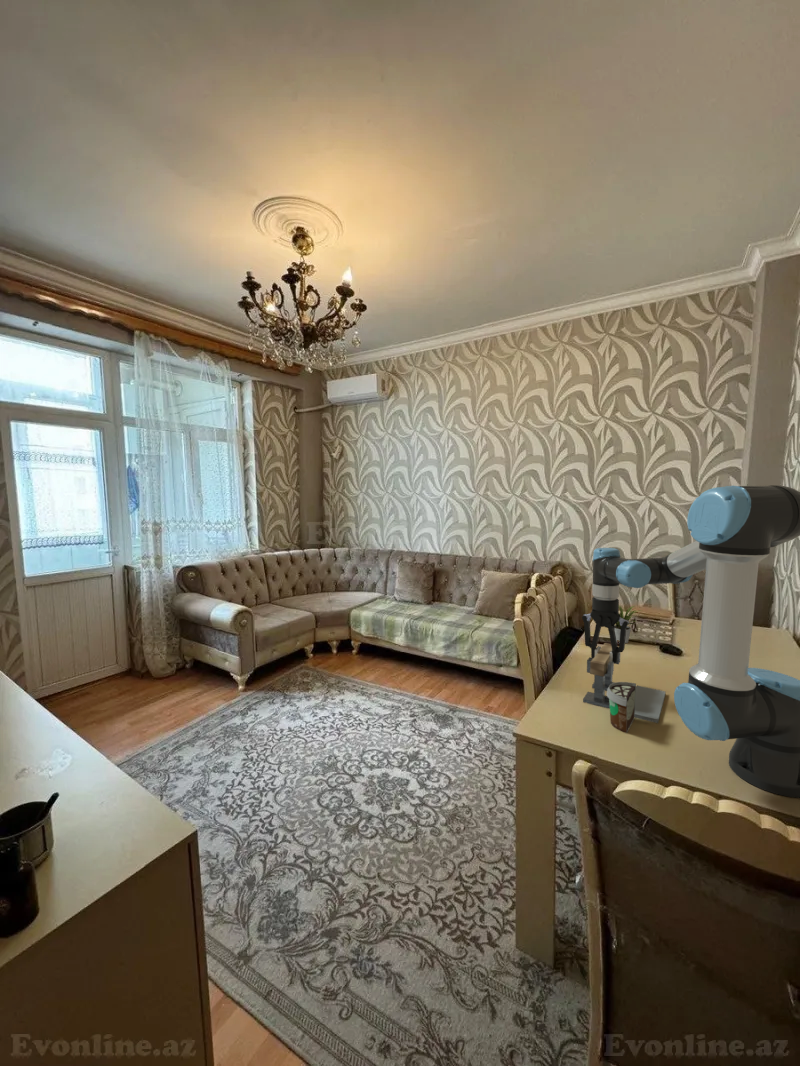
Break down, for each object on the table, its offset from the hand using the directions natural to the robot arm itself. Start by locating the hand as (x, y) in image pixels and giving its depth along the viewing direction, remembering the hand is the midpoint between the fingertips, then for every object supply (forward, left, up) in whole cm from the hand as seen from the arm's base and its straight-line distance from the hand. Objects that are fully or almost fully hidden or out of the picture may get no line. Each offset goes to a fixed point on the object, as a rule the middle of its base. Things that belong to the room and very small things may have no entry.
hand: (603, 670), depth 137 cm
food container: (-16, -7, -8) cm, 19 cm away
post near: (-6, 0, -8) cm, 10 cm away
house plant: (+58, +3, -8) cm, 59 cm away
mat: (0, -12, -8) cm, 14 cm away
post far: (+6, 0, -8) cm, 10 cm away
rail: (0, 0, +2) cm, 2 cm away
